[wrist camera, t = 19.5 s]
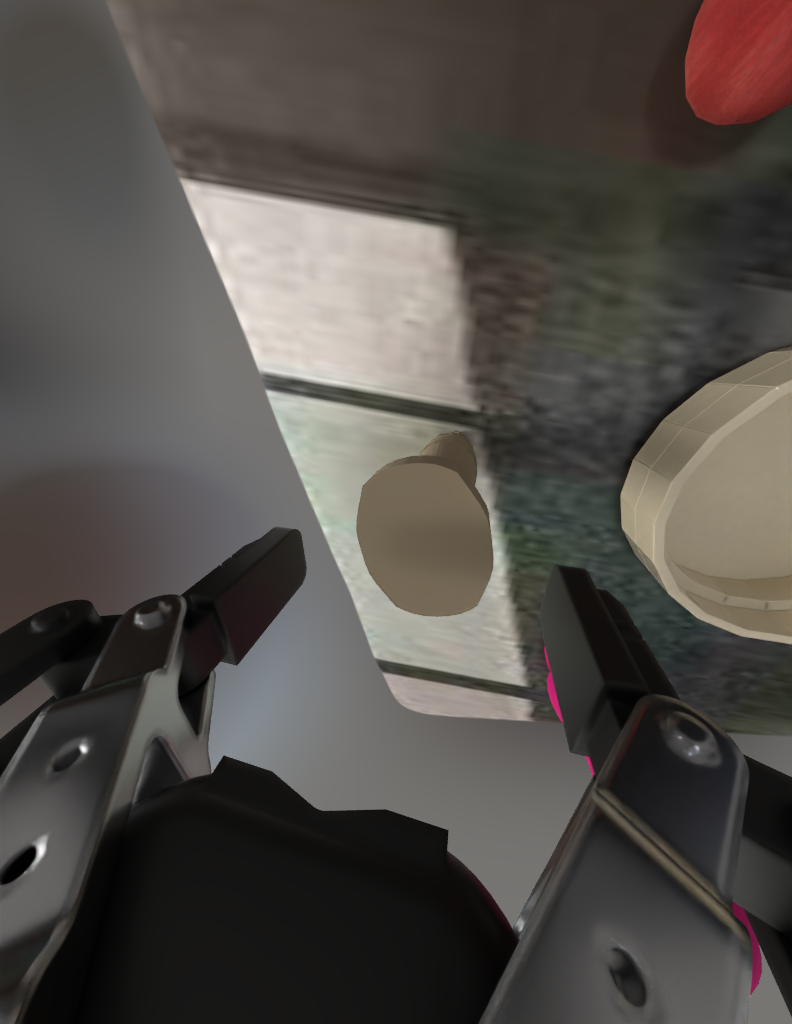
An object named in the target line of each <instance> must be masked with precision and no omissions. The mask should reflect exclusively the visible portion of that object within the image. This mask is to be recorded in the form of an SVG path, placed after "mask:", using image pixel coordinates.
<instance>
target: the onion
mask: <svg viewBox="0 0 792 1024" xmlns="http://www.w3.org/2000/svg"><path fill="white" fill-rule="evenodd" d="M685 84H686V98H687V100H688V102H689V104H690V106H691V108H692V110H693V111H694V113H695V115H696V117H698V118H700V119H703V120H705V121H708V122H710V123H712V124H715V125H732V124H746V123H753V122H755V121H757V120H759V119H761V118H763V117H765V116H767V115H769V114H771V113H773V112H775V111H777V110H779V109H781V108H783V107H785V106H787V105H789V104H791V103H792V0H704V1H703V3H702V5H701V8H700V10H699V12H698V14H697V16H696V19H695V22H694V26H693V30H692V34H691V38H690V41H689V45H688V49H687V53H686V57H685Z"/></svg>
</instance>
